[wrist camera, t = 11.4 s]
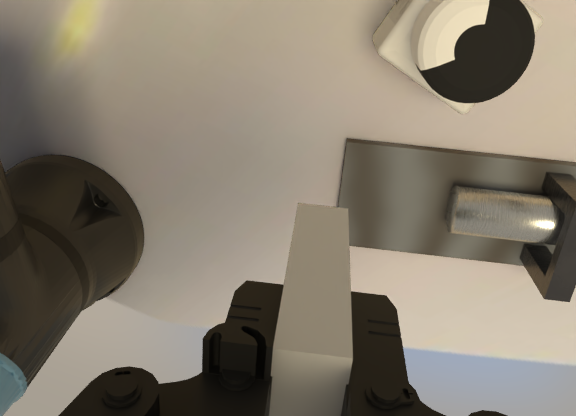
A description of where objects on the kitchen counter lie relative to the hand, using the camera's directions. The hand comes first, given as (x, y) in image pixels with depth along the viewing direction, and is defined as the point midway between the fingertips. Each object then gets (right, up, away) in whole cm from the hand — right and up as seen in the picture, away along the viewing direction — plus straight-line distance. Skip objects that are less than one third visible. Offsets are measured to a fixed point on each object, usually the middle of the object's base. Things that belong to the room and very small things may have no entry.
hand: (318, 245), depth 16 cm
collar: (+22, 0, +30) cm, 37 cm away
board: (+19, +1, +31) cm, 37 cm away
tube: (+23, 0, +30) cm, 38 cm away
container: (+11, +16, +26) cm, 32 cm away
